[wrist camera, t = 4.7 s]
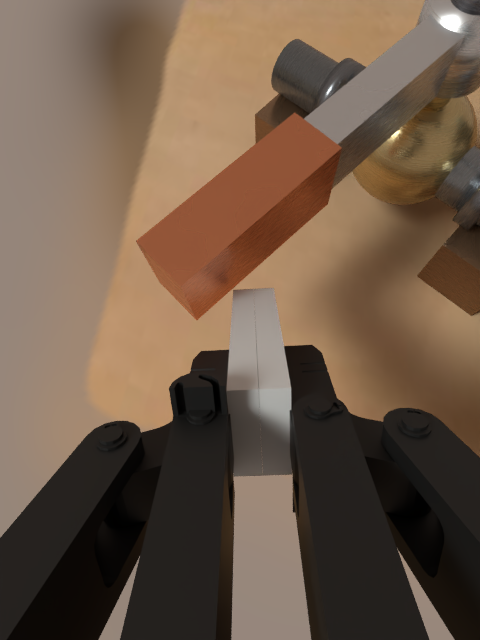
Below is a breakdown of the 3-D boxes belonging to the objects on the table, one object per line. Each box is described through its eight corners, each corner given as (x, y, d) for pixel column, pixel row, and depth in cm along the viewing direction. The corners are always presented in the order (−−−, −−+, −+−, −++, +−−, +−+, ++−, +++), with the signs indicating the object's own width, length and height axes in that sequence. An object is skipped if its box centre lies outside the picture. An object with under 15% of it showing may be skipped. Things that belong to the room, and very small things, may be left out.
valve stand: (527, 247, 27) (671, 131, 17) (468, 319, 25) (589, 235, 16) (312, 106, 31) (333, -45, 22) (253, 160, 30) (249, 24, 21)
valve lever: (435, 31, 20) (474, -65, 16) (500, 70, 19) (556, -23, 15) (148, 270, 16) (116, 217, 13) (209, 332, 15) (192, 294, 12)
